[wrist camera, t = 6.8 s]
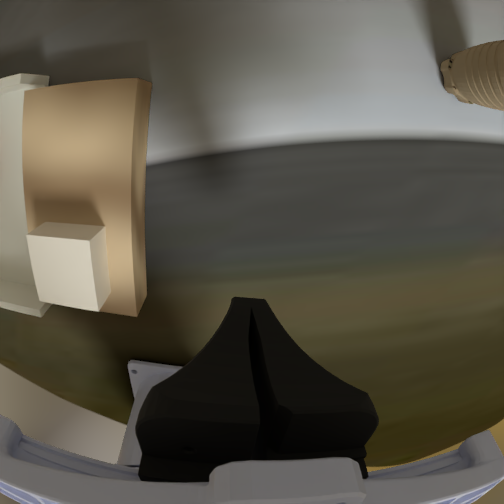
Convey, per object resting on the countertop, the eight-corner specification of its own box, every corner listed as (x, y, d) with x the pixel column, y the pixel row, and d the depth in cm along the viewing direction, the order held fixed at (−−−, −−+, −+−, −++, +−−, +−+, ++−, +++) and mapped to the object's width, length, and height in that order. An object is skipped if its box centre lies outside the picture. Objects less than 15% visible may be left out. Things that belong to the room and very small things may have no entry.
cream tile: (110, 292, 17) (98, 311, 15) (54, 283, 16) (39, 301, 14) (105, 226, 15) (89, 240, 13) (45, 221, 15) (26, 234, 13)
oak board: (147, 294, 20) (137, 316, 17) (57, 282, 19) (41, 300, 17) (152, 83, 14) (137, 77, 12) (47, 91, 14) (24, 90, 11)
